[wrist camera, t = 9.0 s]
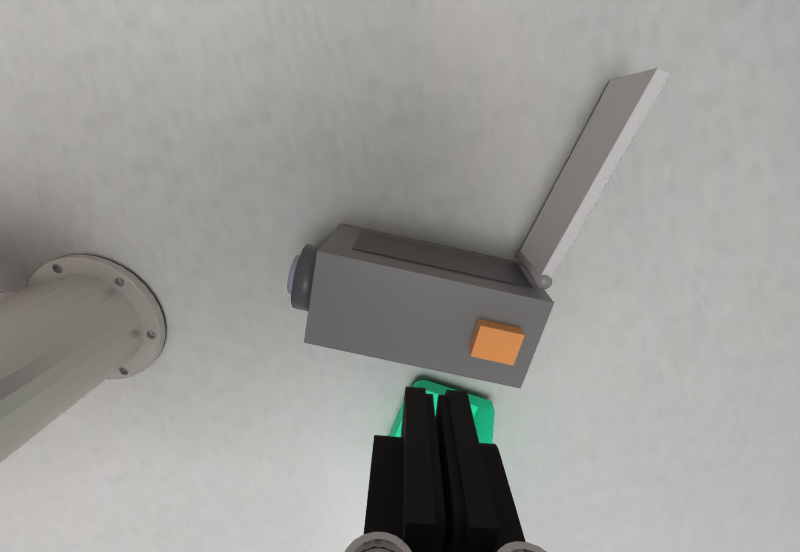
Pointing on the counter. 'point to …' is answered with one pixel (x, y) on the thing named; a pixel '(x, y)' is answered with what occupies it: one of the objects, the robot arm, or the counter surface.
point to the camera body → (420, 304)
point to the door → (588, 171)
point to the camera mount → (479, 407)
